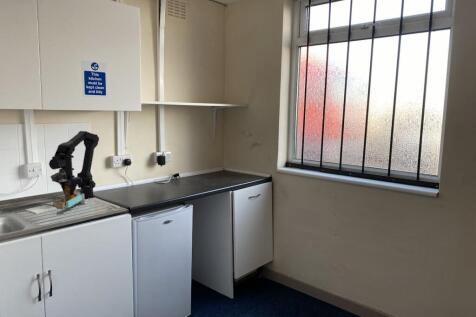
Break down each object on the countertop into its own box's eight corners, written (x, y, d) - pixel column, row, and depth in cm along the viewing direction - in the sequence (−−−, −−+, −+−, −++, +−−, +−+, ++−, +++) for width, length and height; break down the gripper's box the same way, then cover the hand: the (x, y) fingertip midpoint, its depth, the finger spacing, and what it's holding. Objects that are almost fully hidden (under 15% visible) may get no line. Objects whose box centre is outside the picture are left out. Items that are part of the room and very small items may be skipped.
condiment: (79, 204, 204) (78, 183, 203) (64, 206, 198) (62, 185, 197) (75, 202, 209) (73, 181, 208) (59, 205, 204) (57, 184, 203)
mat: (46, 205, 202) (46, 204, 202) (56, 209, 196) (56, 207, 196) (25, 210, 193) (25, 209, 193) (36, 213, 187) (35, 212, 187)
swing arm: (80, 199, 203) (80, 194, 203) (82, 199, 203) (82, 194, 203) (66, 207, 187) (65, 202, 187) (68, 207, 187) (68, 202, 187)
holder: (73, 201, 212) (73, 191, 211) (85, 204, 205) (84, 193, 205) (53, 205, 202) (52, 195, 201) (65, 209, 196) (64, 198, 195)
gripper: (43, 167, 200) (45, 195, 202) (61, 170, 189) (63, 199, 191) (62, 164, 209) (64, 191, 211) (81, 167, 198) (83, 195, 200)
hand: (68, 194), depth 203 cm, fingers open, 6 cm apart
